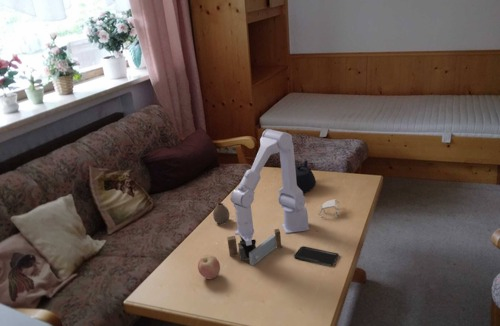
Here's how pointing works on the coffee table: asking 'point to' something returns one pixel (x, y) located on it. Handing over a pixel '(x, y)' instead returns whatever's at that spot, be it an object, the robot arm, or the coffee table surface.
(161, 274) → the coffee table surface
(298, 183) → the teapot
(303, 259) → the phone
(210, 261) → the apple
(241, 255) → the block
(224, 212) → the vase
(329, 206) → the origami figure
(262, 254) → the door
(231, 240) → the door frame
